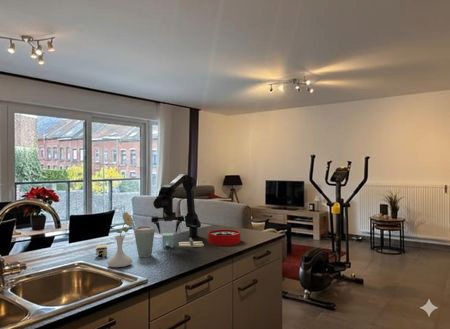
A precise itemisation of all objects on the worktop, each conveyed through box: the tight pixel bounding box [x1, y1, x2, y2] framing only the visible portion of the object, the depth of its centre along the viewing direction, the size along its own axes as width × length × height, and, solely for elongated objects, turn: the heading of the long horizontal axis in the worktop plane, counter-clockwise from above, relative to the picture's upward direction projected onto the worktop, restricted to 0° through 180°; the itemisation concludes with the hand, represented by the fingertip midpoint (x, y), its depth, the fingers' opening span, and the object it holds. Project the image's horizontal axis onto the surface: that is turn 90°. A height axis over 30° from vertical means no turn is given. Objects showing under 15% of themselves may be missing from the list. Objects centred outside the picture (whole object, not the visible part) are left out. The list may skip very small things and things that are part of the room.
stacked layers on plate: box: [94, 244, 109, 258], centre depth 177 cm, size 10×9×6 cm
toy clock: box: [207, 229, 241, 246], centre depth 210 cm, size 20×6×20 cm
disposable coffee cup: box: [133, 225, 156, 258], centre depth 176 cm, size 11×11×15 cm
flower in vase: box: [106, 211, 135, 268], centre depth 159 cm, size 13×11×25 cm
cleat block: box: [162, 232, 174, 249], centre depth 198 cm, size 7×6×7 cm
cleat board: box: [178, 237, 205, 249], centre depth 201 cm, size 10×14×4 cm
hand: (167, 233), depth 198 cm, fingers open, 9 cm apart
